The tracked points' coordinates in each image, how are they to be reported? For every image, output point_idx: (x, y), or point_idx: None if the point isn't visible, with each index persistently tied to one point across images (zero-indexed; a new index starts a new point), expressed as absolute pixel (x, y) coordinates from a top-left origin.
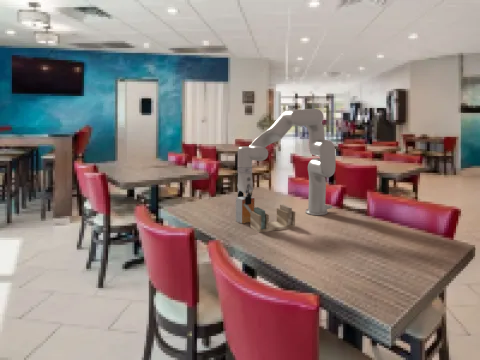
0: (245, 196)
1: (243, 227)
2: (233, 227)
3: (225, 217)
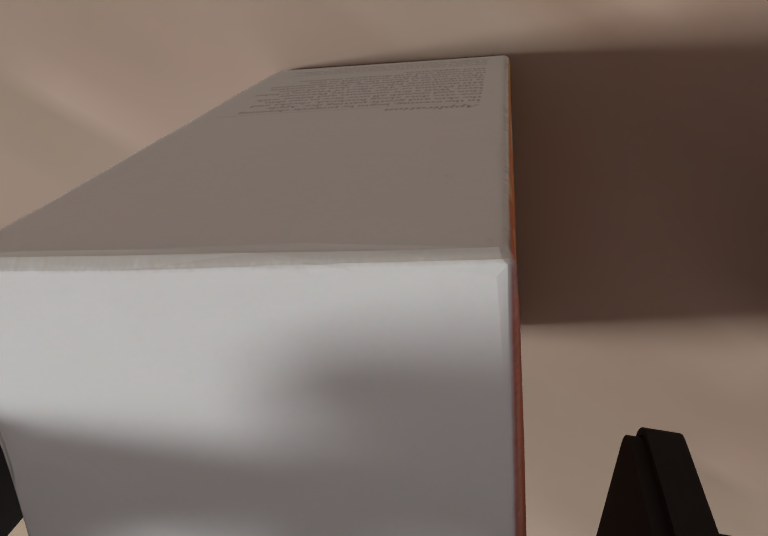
0: (46, 432)
1: (715, 413)
2: None
3: None
